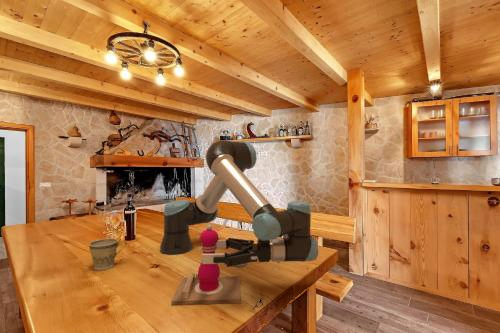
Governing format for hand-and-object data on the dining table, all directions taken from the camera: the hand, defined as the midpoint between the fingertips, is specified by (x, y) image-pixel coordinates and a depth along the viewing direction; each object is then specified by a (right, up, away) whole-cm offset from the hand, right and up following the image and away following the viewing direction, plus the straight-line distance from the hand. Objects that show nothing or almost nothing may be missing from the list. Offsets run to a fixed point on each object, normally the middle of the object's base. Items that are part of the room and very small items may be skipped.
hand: (204, 251), depth 78 cm
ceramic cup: (-43, -13, +19) cm, 49 cm away
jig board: (+1, -13, 0) cm, 13 cm away
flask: (+10, -13, +22) cm, 28 cm away
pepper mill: (+1, -12, 0) cm, 12 cm away
